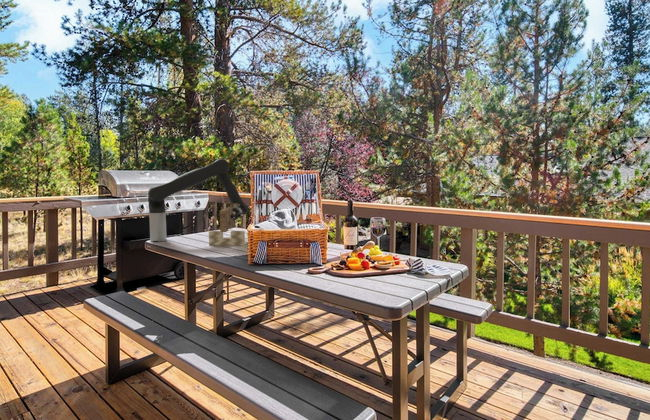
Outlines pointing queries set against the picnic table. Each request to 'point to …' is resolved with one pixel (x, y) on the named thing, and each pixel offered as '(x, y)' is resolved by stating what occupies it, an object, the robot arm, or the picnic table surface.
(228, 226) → the brown wooden slab
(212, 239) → the birch board
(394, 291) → the picnic table surface
